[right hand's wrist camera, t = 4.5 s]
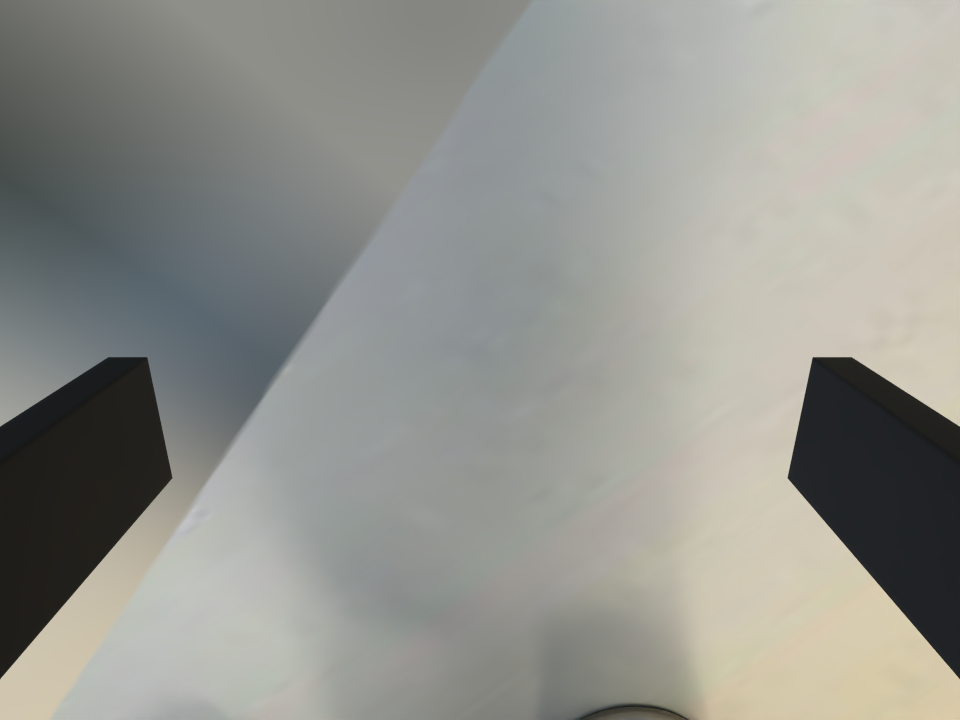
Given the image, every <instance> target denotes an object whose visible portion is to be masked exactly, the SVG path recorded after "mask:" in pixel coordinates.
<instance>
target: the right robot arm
mask: <svg viewBox="0 0 960 720" xmlns="http://www.w3.org/2000/svg"><path fill="white" fill-rule="evenodd" d="M171 479H172V474H171V469H170V464H169V460H168V455H167V450H166V445H165V440H164V436H163V431H162V426H161V421H160V417H159V412H158V407H157V402H156V397H155V392H154V388H153V383H152V378H151V373H150V369H149V364H148V359H147V357H108V358H107V359H105V360H104V361H102V362H100V363H99V364H97V365H96V366H94V367H93V368H91V369H90V370H88V371H86V372H85V373H83V374H82V375H80V376H79V377H77V378H75V379H74V380H72V381H71V382H69V383H68V384H66V385H65V386H63V387H61V388H60V389H58V390H57V391H55V392H54V393H52V394H50V395H49V396H47V397H46V398H44V399H43V400H41V401H40V402H38V403H36V404H35V405H33V406H32V407H30V408H29V409H27V410H26V411H24V412H22V413H21V414H19V415H18V416H16V417H15V418H13V419H12V420H10V421H8V422H7V423H5V424H4V425H2V426H1V427H0V679H1V677H2V676H3V675H4V674H5V673H6V672H7V670H8V669H9V668H10V667H11V666H12V665H13V663H14V662H15V661H16V660H17V659H18V658H19V656H20V655H21V654H22V653H23V652H24V651H25V649H26V648H27V647H28V646H29V645H30V643H31V642H32V641H33V640H34V639H35V638H36V636H37V635H38V634H39V633H40V632H41V631H42V630H43V628H44V627H45V626H46V625H47V624H48V623H49V621H50V620H51V619H52V618H53V617H54V615H55V614H56V613H57V612H58V611H59V610H60V609H61V607H62V606H63V605H64V604H65V603H66V602H67V600H68V599H69V598H70V597H71V596H72V595H73V593H74V592H75V591H76V590H77V589H78V588H79V586H80V585H81V584H82V583H83V582H84V580H85V579H86V578H87V577H88V576H89V575H90V574H91V572H92V571H93V570H94V569H95V568H96V567H97V565H98V564H99V563H100V562H101V561H102V559H103V558H104V557H105V556H106V555H107V554H108V552H109V551H110V550H111V549H112V548H113V547H114V546H115V544H116V543H117V542H118V541H119V540H120V539H121V537H122V536H123V535H124V534H125V533H126V532H127V530H128V529H129V528H130V527H131V526H132V525H133V523H134V522H135V521H136V520H137V519H138V517H139V516H140V515H141V514H142V513H143V512H144V511H145V509H146V508H147V507H148V506H149V505H150V504H151V502H152V501H153V500H154V499H155V498H156V496H157V495H158V494H159V493H160V492H161V491H162V489H163V488H164V487H165V486H166V485H167V484H168V482H169V481H170V480H171ZM788 479H789V480H790V481H791V483H792V484H793V485H794V486H795V487H796V488H797V490H798V491H799V492H800V493H801V494H802V495H803V497H804V498H805V499H806V500H807V501H808V502H809V504H810V505H811V506H812V507H813V508H814V509H815V511H816V512H817V513H818V514H819V515H820V516H821V518H822V519H823V520H824V521H825V522H826V523H827V525H828V526H829V527H830V528H831V529H832V530H833V532H834V533H835V534H836V535H837V536H838V537H839V539H840V540H841V541H842V542H843V543H844V544H845V546H846V547H847V548H848V549H849V550H850V551H851V553H852V554H853V555H854V556H855V557H856V558H857V560H858V561H859V562H860V563H861V564H862V565H863V567H864V568H865V569H866V570H867V571H868V572H869V574H870V575H871V576H872V577H873V578H874V579H875V581H876V582H877V583H878V584H879V585H880V586H881V588H882V589H883V590H884V591H885V592H886V593H887V595H888V596H889V597H890V598H891V599H892V600H893V602H894V603H895V604H896V605H897V606H898V607H899V609H900V610H901V611H902V612H903V613H904V614H905V616H906V617H907V618H908V619H909V620H910V621H911V623H912V624H913V625H914V626H915V627H916V628H917V630H918V631H919V632H920V633H921V634H922V635H923V637H924V638H925V639H926V640H927V641H928V642H929V644H930V645H931V646H932V647H933V648H934V649H935V651H936V652H937V653H938V654H939V655H940V656H941V658H942V659H943V660H944V661H945V662H946V663H947V665H948V666H949V667H950V668H951V669H952V670H953V672H954V673H955V674H956V675H957V676H958V677H959V679H960V427H959V426H958V425H956V424H955V423H953V422H952V421H950V420H948V419H947V418H945V417H944V416H942V415H941V414H939V413H938V412H936V411H934V410H933V409H931V408H930V407H928V406H927V405H925V404H924V403H922V402H920V401H919V400H917V399H916V398H914V397H913V396H911V395H910V394H908V393H906V392H905V391H903V390H902V389H900V388H899V387H897V386H895V385H894V384H892V383H891V382H889V381H888V380H886V379H885V378H883V377H881V376H880V375H878V374H877V373H875V372H874V371H872V370H871V369H869V368H867V367H866V366H864V365H863V364H861V363H860V362H858V361H857V360H855V359H853V358H852V357H813V359H812V364H811V368H810V373H809V378H808V383H807V388H806V392H805V397H804V402H803V407H802V412H801V416H800V421H799V426H798V431H797V436H796V440H795V445H794V450H793V455H792V460H791V464H790V469H789V474H788ZM581 720H685V719H684V718H682V717H680V716H678V715H676V714H673V713H670V712H667V711H664V710H660V709H654V708H647V707H622V708H614V709H609V710H605V711H601V712H598V713H595V714H592V715H589V716H587V717H585V718H583V719H581Z"/></svg>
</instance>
